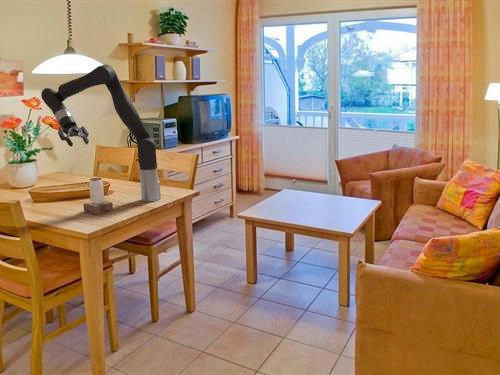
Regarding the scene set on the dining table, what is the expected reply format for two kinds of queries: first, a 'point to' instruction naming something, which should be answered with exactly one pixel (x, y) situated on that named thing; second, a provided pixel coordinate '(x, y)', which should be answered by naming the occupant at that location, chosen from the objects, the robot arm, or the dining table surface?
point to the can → (96, 190)
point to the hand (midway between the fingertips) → (79, 144)
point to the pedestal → (98, 208)
